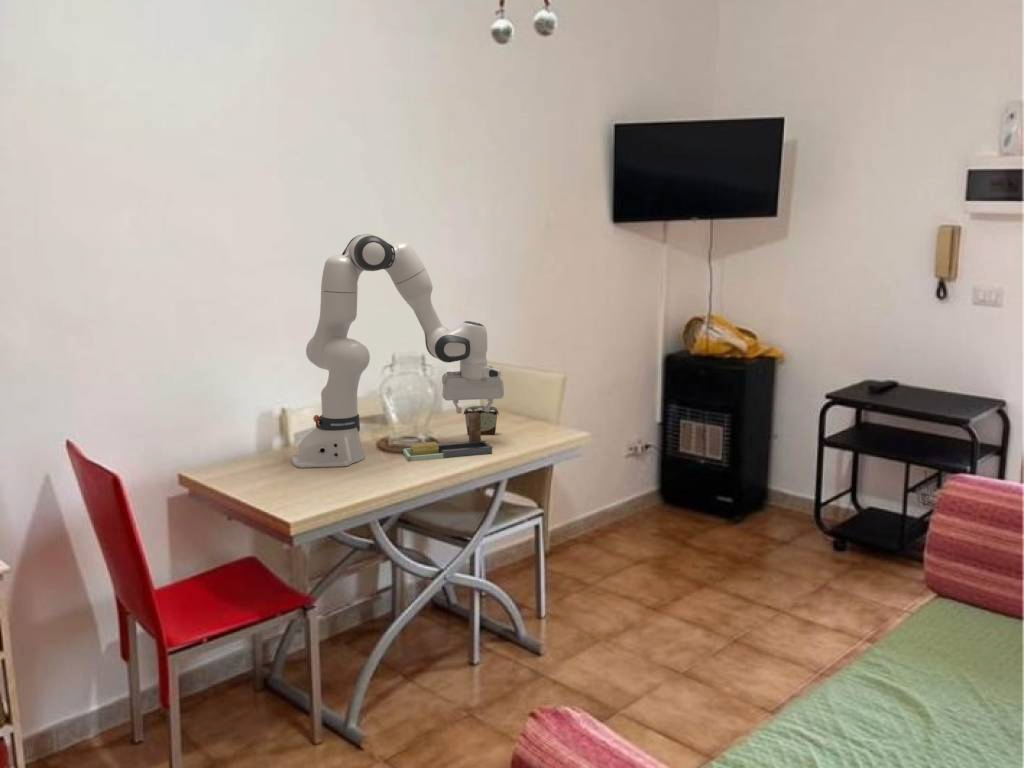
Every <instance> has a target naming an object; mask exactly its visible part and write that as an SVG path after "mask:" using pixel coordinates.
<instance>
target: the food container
mask: <svg viewBox="0 0 1024 768" xmlns="http://www.w3.org/2000/svg"><path fill="white" fill-rule="evenodd" d="M484 406H485V405H475V406H473V405H472V406H468V407H466V408H464V411H463V413H462V415H463V416H465V425H466V433H467V436H469V413H476V412H478V413H479V414H480V415H481V436H496V430H497V420H498V416H500V413H499V409H498V408H497V407H494V406H492V405H491V406H490V412H484Z"/></svg>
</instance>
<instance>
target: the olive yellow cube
mask: <svg viewBox="0 0 1024 768" xmlns="http://www.w3.org/2000/svg"><path fill="white" fill-rule="evenodd" d="M423 443H424V444H425V445H426V455H428V454H439V443H438V442H436V441H427V442H423Z"/></svg>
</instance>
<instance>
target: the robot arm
mask: <svg viewBox="0 0 1024 768" xmlns="http://www.w3.org/2000/svg"><path fill="white" fill-rule="evenodd" d="M382 270H384V271H385V272H387V274H388V275H389V277H390V279H391V281H392V282H393V284H394V286H395V288H396V290H397V291H398V293H399V295H400V296H401V297H402V299H403V300H404V301H405V302H406V304H408V306H409V307H410V308H411V309H412V310H413V312H414V314H415V316H416V318H417V321H418V322H419V324H420V326H421V329H422V331H423V332H424V337H425V339H424V341H425V346H426V350H427V353H429V354H430V356H431V357H433V358H435V359H437V360H439V361H442V363H453V362H459V371H446V372H445V373H444V374H443V375H442V378H441V382H442V384H443V385H442V395H441V396H442V398H443V399H444V400H445V401H452V403H453V404H454V407H455V409H456V410H455V411H456V412H455V413H456V414H463V408H462V407H461V406H459V405H458V404H459V401H469V400H471V401H472V400H487V402H488V403H487V404H486V405H483V406H484V412H490V406H491V407H492V405H493V404H494V400H495V399H496V400H498V399H499V400H500V399H502V398H503V397H504V395H505V388H504V380H503V379H502V378H501V376H502V372H501V370H500V369H498V368H496V367H493V366H490V365H488V359H487V352H488V333H487V328H486V327H485V326H484V325H483V324H481V322H476V321H472V320H471V321H469V320H466V321H463V322H462V323H461V324H459V325H458V326H456V327H455V328H452V329H450V330H449V329H447V328H446V327H445V326H444V325H443V324H442V322H441V320H440V318H439V316H438V314H437V312H436V310H435V308H434V306H433V303H432V296H431V295H432V292H433V288H434V287H433V284H432V281H431V277H430V275H429V273H428V271H427V269H426V266H425V265H424V263H423V261H422V260H421V258H420V256H419V254H417V252H416V251H415V250H414V249H413V247H412V246H411V245H410V244H409V243H408V242H406V241H395V242H394V243H392V244H390V243H389V242H387V241H386V240H384V239H383V238H382V237H379V236H376V235H373V234H370V233H367V234H366V233H365V234H358V235H356V236H354V237H352V239H350V240H349V242H348V243H347V246H346V247H345V249H343V252H342V253H341V254H335V255H332V256H330V257H328V258H327V259H326V261H325V262H324V267H323V270H322V275H321V276H322V277H321V285H320V288H321V289H320V306H319V307H320V310H319V318H318V323H317V326H316V330H315V332H314V334H313V336H312V337H311V339H309V340H308V342H307V345H306V348H305V353H306V357H307V359H308V361H310V363H311V364H313V365H314V366H316V367H317V368H320V369H322V370H326V371H328V378H327V383H326V385H325V386H324V387H323V388H322V390H321V393H320V394H321V395H320V396H321V397H320V398H321V415H317V414H316V415H314V416H313V418H312V420H313V421H314V423H315V428H314V429H313V430H312V431H311V432H309V433H308V434H307V435H306V436H305V437H303V438H302V439H301V440H300V444H299V446H298V453H295V454H294V455H293V456H292V458H291V463H292V465H293V466H295V467H296V468H300V469H301V468H302V469H303V468H304V469H305V468H326V467H327V468H331V467H348V466H351V465H352V464H354V463H357V462H360V461H362V460H363V459H365V458H366V457H365V454H364V450H363V447H362V443H361V437H360V431H361V418H360V414H359V411H358V410H359V409H358V389H359V388H358V387H359V383H360V380H361V376H362V373H363V372H364V371H365V370H366V369H367V367H368V366H369V363H370V359H371V357H370V356H371V355H370V351H369V349H368V347H366V346H365V345H364V344H363V343H362V342H360V341H358V340H356V339H353V338H348V332H349V330H350V327H351V325H352V323H353V322H355V320H356V319H357V315H358V313H357V312H358V285H359V284H358V282H359V278H360V275H361V273H363V272H364V271H365V272H376V271H382Z"/></svg>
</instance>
